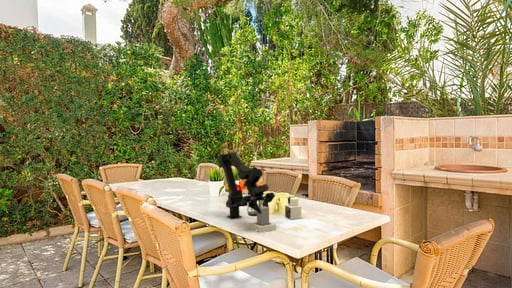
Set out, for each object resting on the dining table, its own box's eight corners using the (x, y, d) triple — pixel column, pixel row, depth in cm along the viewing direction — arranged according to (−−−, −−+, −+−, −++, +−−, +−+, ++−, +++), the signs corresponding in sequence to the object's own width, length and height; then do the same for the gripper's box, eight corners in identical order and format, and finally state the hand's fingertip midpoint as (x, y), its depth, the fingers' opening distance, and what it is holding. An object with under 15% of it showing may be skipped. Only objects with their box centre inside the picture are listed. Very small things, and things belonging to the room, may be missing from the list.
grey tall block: (257, 224, 181) (256, 206, 181) (264, 223, 184) (264, 205, 183) (261, 226, 178) (261, 208, 177) (269, 225, 180) (269, 207, 180)
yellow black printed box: (284, 216, 205) (284, 196, 205) (295, 215, 208) (295, 195, 207) (290, 219, 199) (290, 198, 198) (301, 218, 201) (301, 197, 201)
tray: (251, 228, 182) (250, 223, 182) (265, 225, 187) (265, 220, 187) (260, 232, 174) (260, 227, 174) (275, 229, 179) (275, 224, 179)
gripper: (243, 180, 178) (255, 206, 169) (272, 177, 188) (285, 201, 179) (235, 193, 185) (246, 218, 176) (264, 189, 195) (276, 213, 186)
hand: (264, 212), depth 179 cm, fingers closed on grey tall block, 4 cm apart
